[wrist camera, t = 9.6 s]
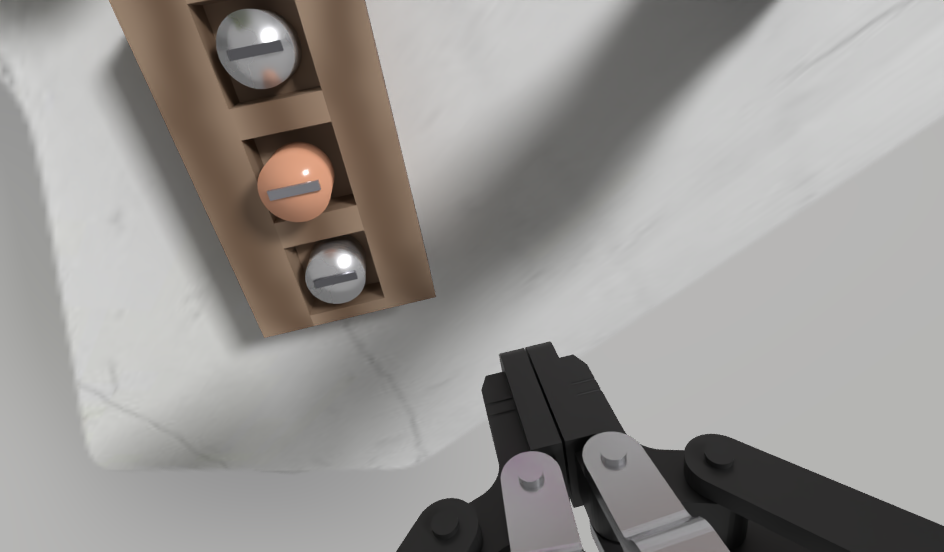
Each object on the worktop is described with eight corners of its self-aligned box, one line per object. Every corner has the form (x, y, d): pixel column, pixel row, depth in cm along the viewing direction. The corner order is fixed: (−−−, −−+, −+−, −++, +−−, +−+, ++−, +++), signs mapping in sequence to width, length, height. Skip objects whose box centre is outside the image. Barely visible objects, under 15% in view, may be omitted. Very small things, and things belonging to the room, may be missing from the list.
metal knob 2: (357, 228, 40) (356, 247, 37) (372, 275, 42) (372, 298, 39) (302, 240, 40) (296, 261, 36) (320, 287, 42) (315, 311, 38)
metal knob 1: (288, 3, 32) (278, 1, 29) (310, 75, 34) (303, 81, 31) (220, 16, 32) (201, 16, 29) (246, 88, 34) (232, 96, 31)
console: (355, -39, 34) (352, -48, 29) (428, 264, 46) (435, 296, 41) (149, 0, 33) (107, -3, 28) (277, 300, 45) (264, 337, 40)
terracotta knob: (323, 135, 34) (317, 148, 30) (342, 196, 36) (339, 215, 32) (258, 149, 33) (245, 164, 30) (281, 210, 36) (271, 230, 32)
